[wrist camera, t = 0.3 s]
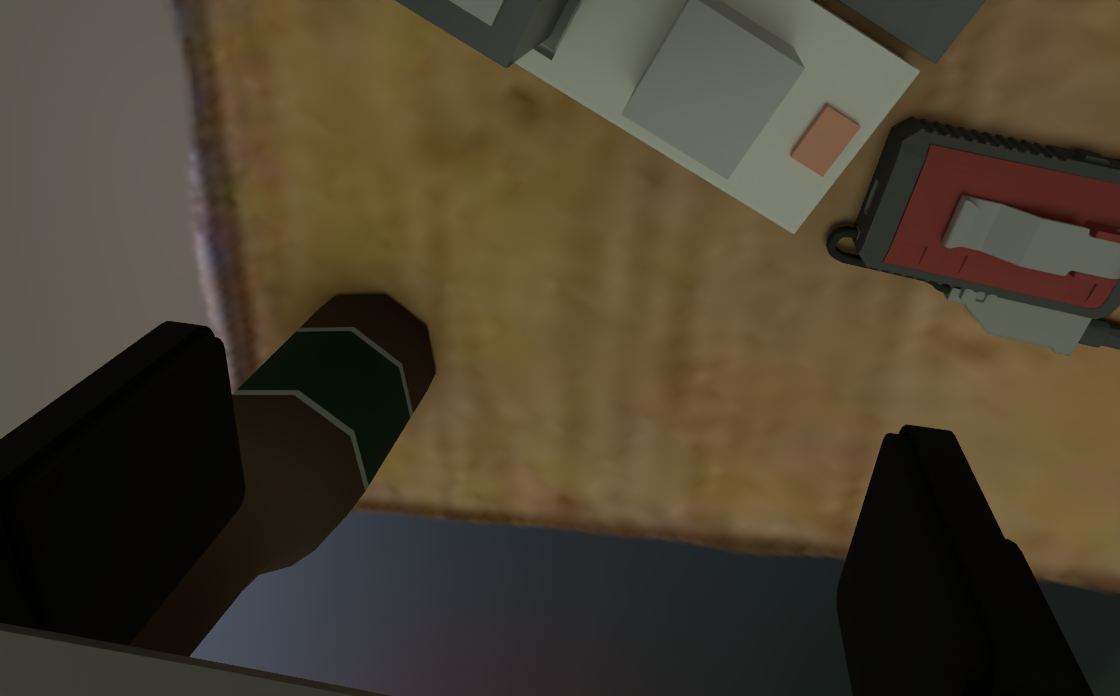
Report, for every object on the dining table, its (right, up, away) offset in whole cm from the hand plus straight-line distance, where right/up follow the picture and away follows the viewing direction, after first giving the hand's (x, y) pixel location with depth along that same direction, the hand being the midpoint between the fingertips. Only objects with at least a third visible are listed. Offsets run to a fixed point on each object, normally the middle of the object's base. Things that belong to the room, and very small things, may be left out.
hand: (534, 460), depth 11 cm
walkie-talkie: (+23, +7, +26) cm, 35 cm away
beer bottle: (-10, +2, +35) cm, 36 cm away
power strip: (+5, +16, +24) cm, 29 cm away
